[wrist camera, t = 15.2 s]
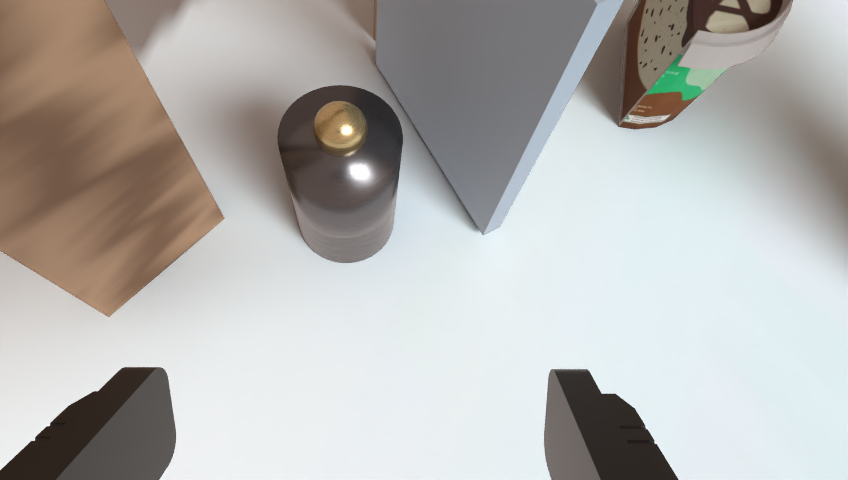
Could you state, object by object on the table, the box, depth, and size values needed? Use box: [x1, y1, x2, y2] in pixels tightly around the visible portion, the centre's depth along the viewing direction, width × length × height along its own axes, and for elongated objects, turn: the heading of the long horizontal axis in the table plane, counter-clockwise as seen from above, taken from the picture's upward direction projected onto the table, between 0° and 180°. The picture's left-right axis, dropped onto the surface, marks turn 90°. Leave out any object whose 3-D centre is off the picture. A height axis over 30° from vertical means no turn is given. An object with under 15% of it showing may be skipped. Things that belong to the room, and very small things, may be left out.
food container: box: [618, 0, 793, 129], centre depth 36 cm, size 12×6×10 cm, turn 169°
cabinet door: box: [375, 0, 624, 235], centre depth 28 cm, size 14×3×18 cm, turn 29°
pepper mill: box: [278, 85, 403, 263], centre depth 29 cm, size 6×6×11 cm
